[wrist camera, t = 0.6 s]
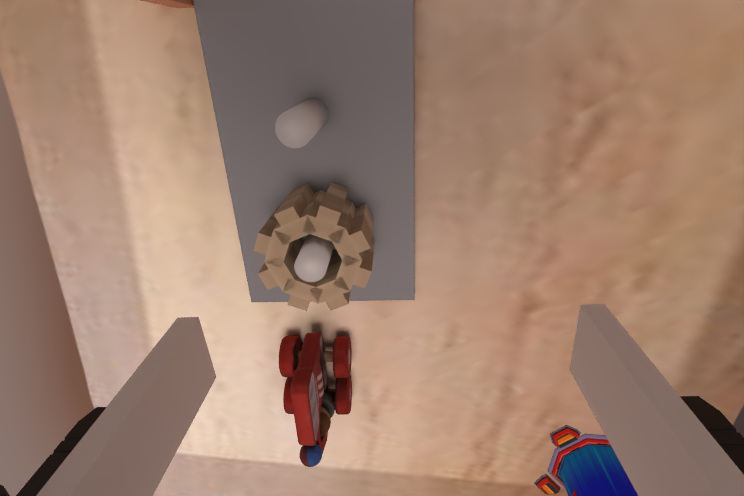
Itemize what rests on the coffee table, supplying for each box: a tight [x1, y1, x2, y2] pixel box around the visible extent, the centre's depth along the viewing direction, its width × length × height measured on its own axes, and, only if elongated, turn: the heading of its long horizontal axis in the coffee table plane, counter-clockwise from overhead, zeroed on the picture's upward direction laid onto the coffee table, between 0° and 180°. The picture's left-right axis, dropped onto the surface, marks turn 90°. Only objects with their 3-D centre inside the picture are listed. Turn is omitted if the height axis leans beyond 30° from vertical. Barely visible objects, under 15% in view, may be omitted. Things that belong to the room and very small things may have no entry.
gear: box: [254, 182, 375, 311], centre depth 35 cm, size 9×9×6 cm
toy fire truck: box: [279, 332, 352, 467], centre depth 41 cm, size 7×12×10 cm, turn 0°
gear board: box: [193, 0, 415, 302], centre depth 33 cm, size 26×16×9 cm, turn 3°
